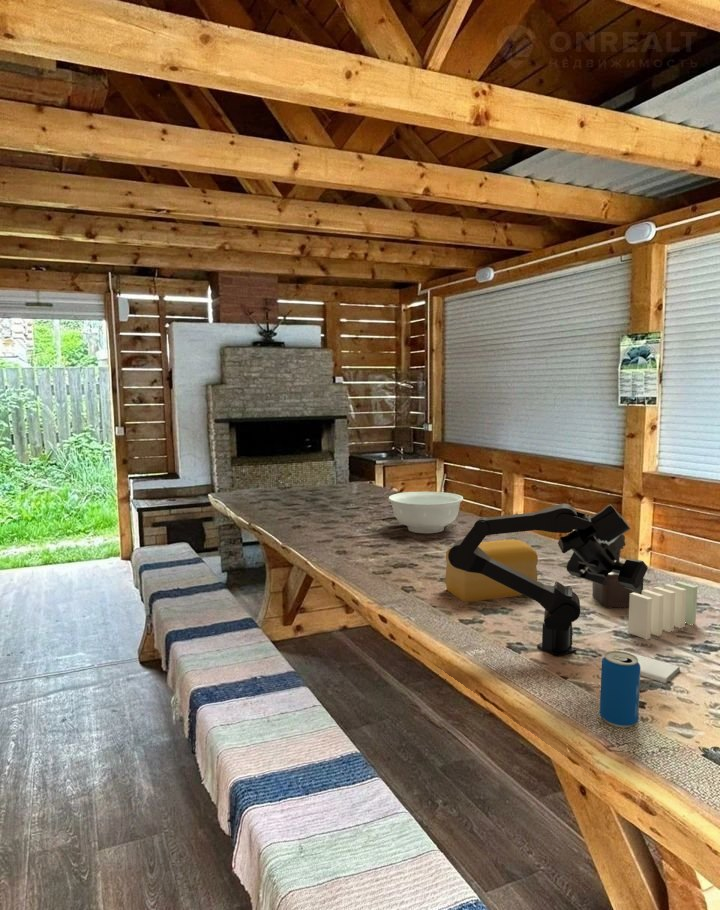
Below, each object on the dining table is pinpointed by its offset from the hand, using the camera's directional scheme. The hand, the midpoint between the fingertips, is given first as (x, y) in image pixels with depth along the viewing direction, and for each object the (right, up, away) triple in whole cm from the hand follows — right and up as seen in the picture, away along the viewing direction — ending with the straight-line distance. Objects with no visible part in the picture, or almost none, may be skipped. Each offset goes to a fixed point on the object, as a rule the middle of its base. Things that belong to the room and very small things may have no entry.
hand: (622, 587), depth 147 cm
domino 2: (+10, -13, +7) cm, 18 cm away
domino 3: (+14, -12, +9) cm, 21 cm away
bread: (-23, -10, +39) cm, 46 cm away
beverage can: (-15, -17, -34) cm, 41 cm away
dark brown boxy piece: (+11, -10, +31) cm, 35 cm away
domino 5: (+22, -12, +14) cm, 28 cm away
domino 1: (+6, -13, +5) cm, 15 cm away
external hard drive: (-1, -15, -13) cm, 20 cm away
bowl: (-34, -1, +121) cm, 126 cm away
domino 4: (+18, -12, +11) cm, 24 cm away
